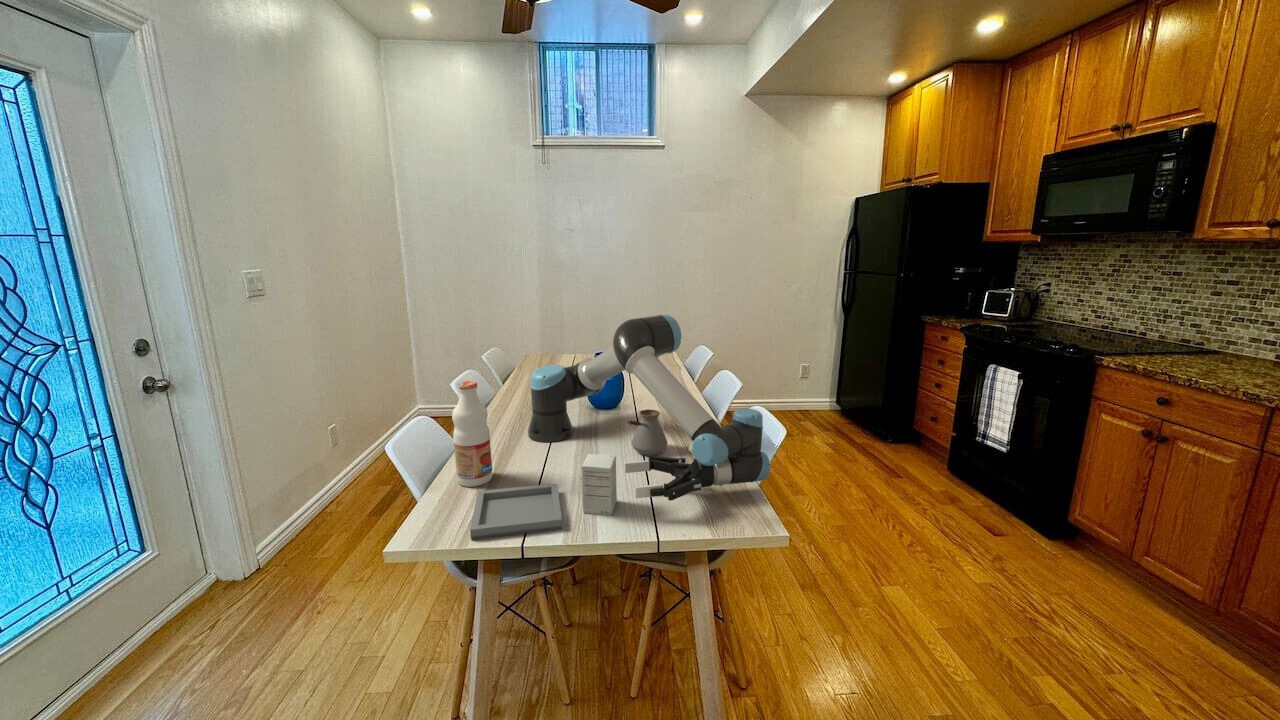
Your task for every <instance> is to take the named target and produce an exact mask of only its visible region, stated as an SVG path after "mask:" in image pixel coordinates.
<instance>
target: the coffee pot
mask: <svg viewBox="0 0 1280 720" xmlns="http://www.w3.org/2000/svg"><path fill="white" fill-rule="evenodd" d="M638 414H639V416H640V418H641V419H640V421H636V420H627V421H625V422H624V423H623V427H624V428H625V429H627V427H626V426H625V424H626V423H627V424H629V425H630V426H629V427H628V429H630V428H631V427H632V425H633V426H637V428H636V430H635V433H634V435H633V437H632V439H631V442H630V443H631V446H632V449H634V451H636V452H637V453H638V454H639V455H642V456H646V457H649V456H658V455H660V454H662V452H664V451H665V449H666V448H667V446H668V439H667V437H666V435H665V432H664V431H663V428H662V426H661V423H660V421H659V416H660V415H661V413H660V411H659V410H656V409H650V408H649V409H643V410H640V411H639V413H638Z"/></svg>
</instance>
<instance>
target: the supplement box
mask: <svg viewBox="0 0 1280 720" xmlns="http://www.w3.org/2000/svg"><path fill="white" fill-rule="evenodd" d="M581 490H582V491H581V492H582V513H583V514H590V515H603V516H612V515H613V512H614V510H615V507H616V502H617V499H618V496H617V494H618V493H617V455H613V454H594V453H592V454H587V456H586V458H585V459H584V461H583V463H582V464H581Z"/></svg>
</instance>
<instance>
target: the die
mask: <svg viewBox="0 0 1280 720" xmlns="http://www.w3.org/2000/svg"><path fill="white" fill-rule="evenodd" d="M692 444H693V441H692V440H691V443H690V445H689V447H688V451H689V452H690V453H691V454H692V455H693V456H694V457H695V455H694V453H693V451H692Z"/></svg>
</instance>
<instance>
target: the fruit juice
mask: <svg viewBox="0 0 1280 720" xmlns="http://www.w3.org/2000/svg"><path fill="white" fill-rule="evenodd" d="M457 389H458V391H459V397H458V398H459V399H458V402H457V404H456V405H455V407H454V408H453V410H452V413H451V418H452V419H451V420H452V422H453V426H454V430H453V433H452V434H453V439H452V440H453V447H454V449H453V450H454V460H455V470H456V480H457V483H458V484H459V485H460V486H462V487H467V488H470V487H471V488H473V487H479V486H484V485H485V484H487V483H489V482H490V481H491V480H492V478H493V464H492V462H493V461H492V448H491V435H490V428H489V426H488V424H487V420H488V416H489V415H488V408H486V406H485V405H484V403H482V402H481V400H480V398H479V396H478V393H477V389H478V382H477V381H475V380H465V381H461V382H459V383H458V384H457Z"/></svg>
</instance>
